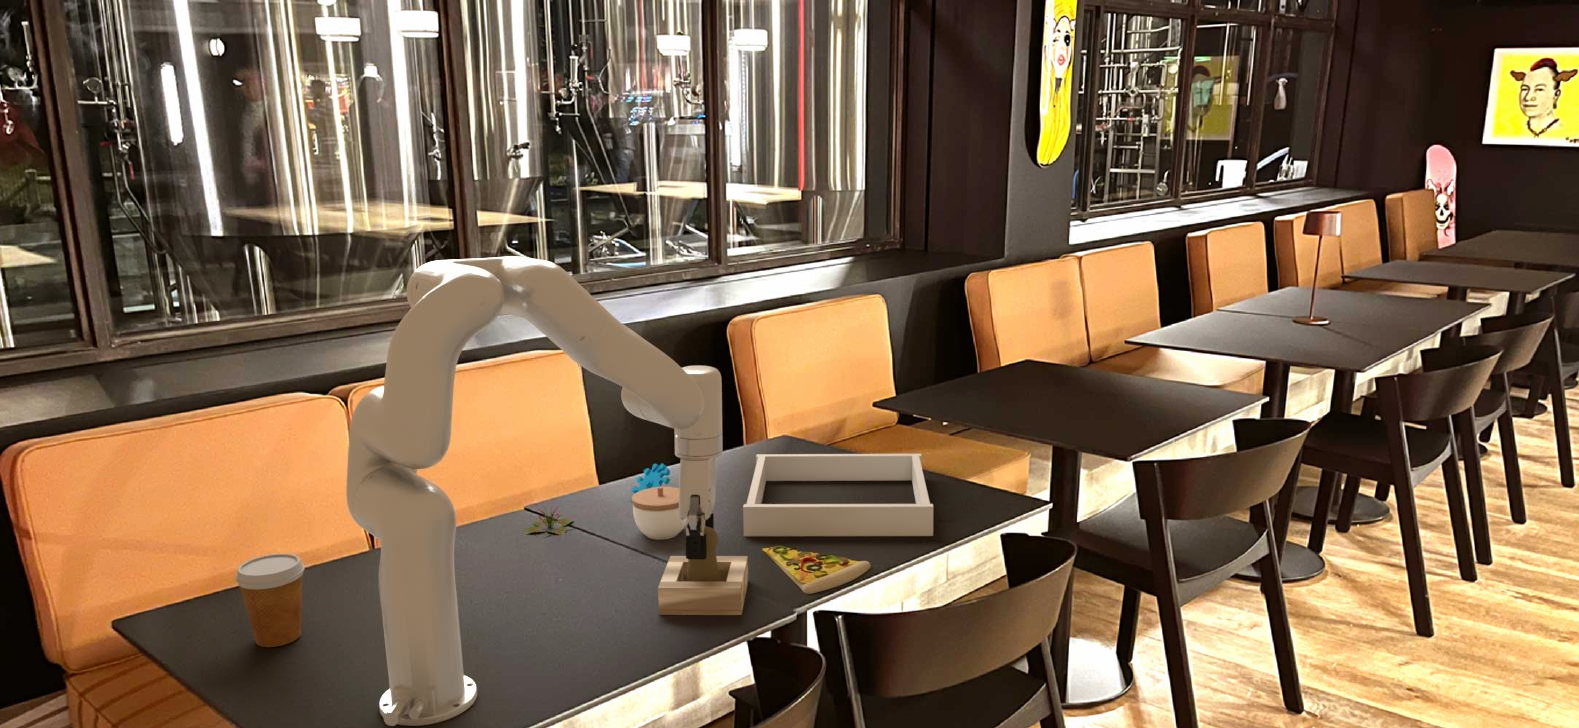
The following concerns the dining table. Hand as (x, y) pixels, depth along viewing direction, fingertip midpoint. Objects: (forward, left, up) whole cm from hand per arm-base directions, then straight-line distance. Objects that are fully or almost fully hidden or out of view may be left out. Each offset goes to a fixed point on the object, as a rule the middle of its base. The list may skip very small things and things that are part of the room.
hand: (700, 547), depth 178 cm
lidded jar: (+28, +11, -9) cm, 32 cm away
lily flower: (+32, +33, -10) cm, 47 cm away
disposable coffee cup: (-15, +63, -9) cm, 65 cm away
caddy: (0, 0, -9) cm, 9 cm away
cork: (0, 0, -8) cm, 8 cm away
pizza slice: (+13, -16, -10) cm, 23 cm away
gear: (+44, +17, -10) cm, 49 cm away
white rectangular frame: (+43, -22, -9) cm, 49 cm away
